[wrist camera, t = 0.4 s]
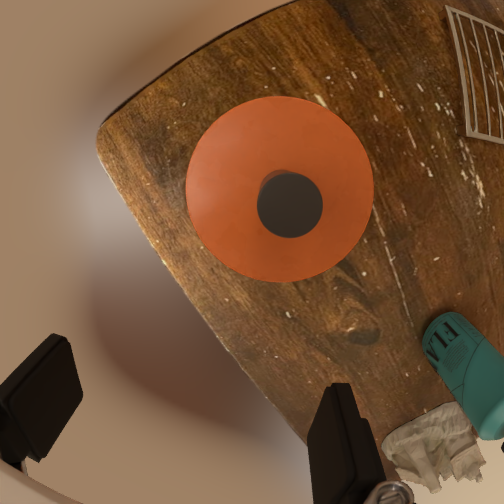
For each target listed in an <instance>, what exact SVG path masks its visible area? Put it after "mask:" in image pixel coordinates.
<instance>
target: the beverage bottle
mask: <svg viewBox="0 0 504 504" xmlns="http://www.w3.org/2000/svg"><path fill="white" fill-rule="evenodd" d="M422 347H423V351H424V353H423V354H425V355H426V357H427V358H428V359H429V361H430V362H429V361H428V362H429V363H430V364H431V363H432V364H431V366H432V367H433V368H434V370H436V372H438V373H439V374H438V373H437V374H438V375H440V377H441V378H442V379H441V380H443V381H444V382H445V383H446V385H447V386H448V387H447V388H449V390H450V391H451V392H452V394H453V396H454V398H456V401H458V402H456V403H458V405H460V406H461V407H462V409H463V410H462V409H461V407H460V409H461V411H462V412H465V415H467V417H468V418H469V420H470V422H471V423H472V424H473V426H474V427H475V429H476V431H477V432H478V435H479V437H480V438H481V439H482V440H498V439H501V438H503V437H504V357H503V356H502V355H501V354H500V353H499V352H498V351H497V350H496V349H495V348H494V347H493V346H492V344H491V343H490V342H489V341H488V340H487V339H486V338H485V336H484V335H483V334H482V333H481V332H480V331H479V330H478V329H477V328H475V327H474V326H473V325H472V324H471V323H470V322H469V321H467V320H466V319H465V318H464V317H463V316H462V315H461V313H460V314H459V313H456V312H447V313H444V314H442V315H440V316H439V317H437V318H436V319H435V320H433V322H432V323H431V324H430V325H429V326H428V328H427V329H426V331H425V333H424V336H423V340H422ZM427 358H426V359H427ZM451 392H450V393H451ZM454 400H455V399H454ZM463 414H464V413H463ZM465 417H466V416H465ZM501 449H502V451H503V452H504V442H503V444H502V447H501Z"/></svg>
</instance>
